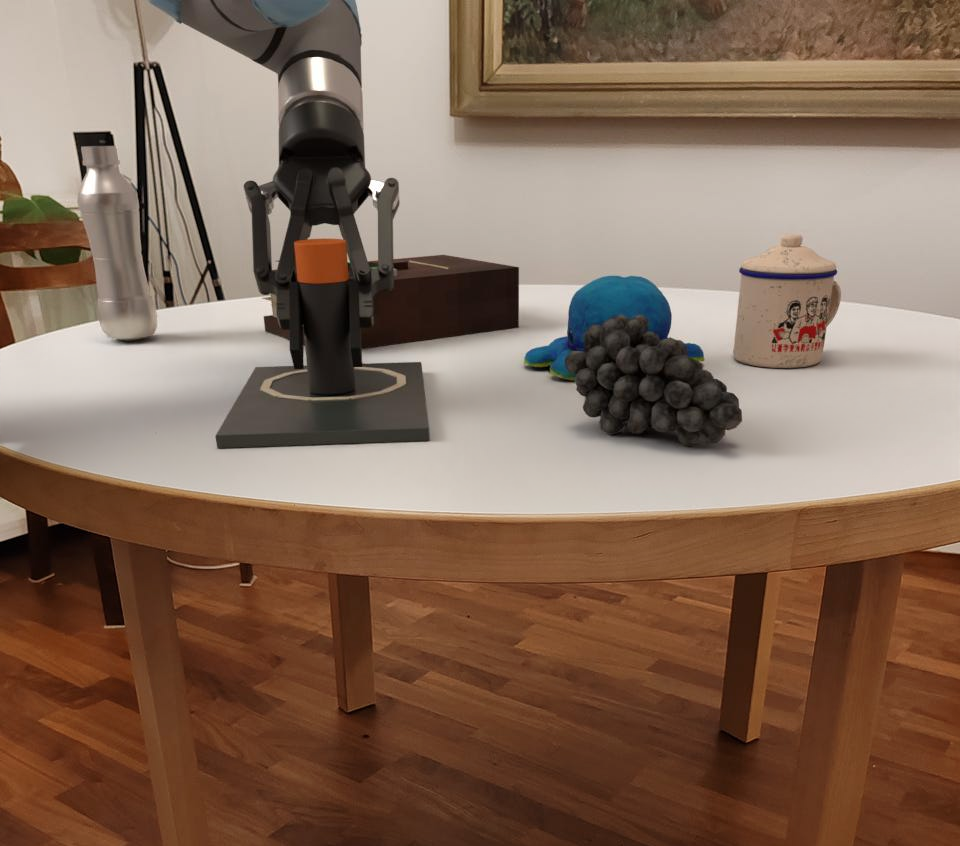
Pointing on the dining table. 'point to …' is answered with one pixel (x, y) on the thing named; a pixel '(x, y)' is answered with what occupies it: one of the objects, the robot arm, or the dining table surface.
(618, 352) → the fruit
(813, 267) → the teacup with lid
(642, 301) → the plush toy
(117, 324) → the metal water bottle
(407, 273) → the decorative book
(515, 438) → the dining table surface
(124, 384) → the dining table surface
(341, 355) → the marker
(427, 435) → the slate board
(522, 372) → the dining table surface
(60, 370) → the dining table surface
